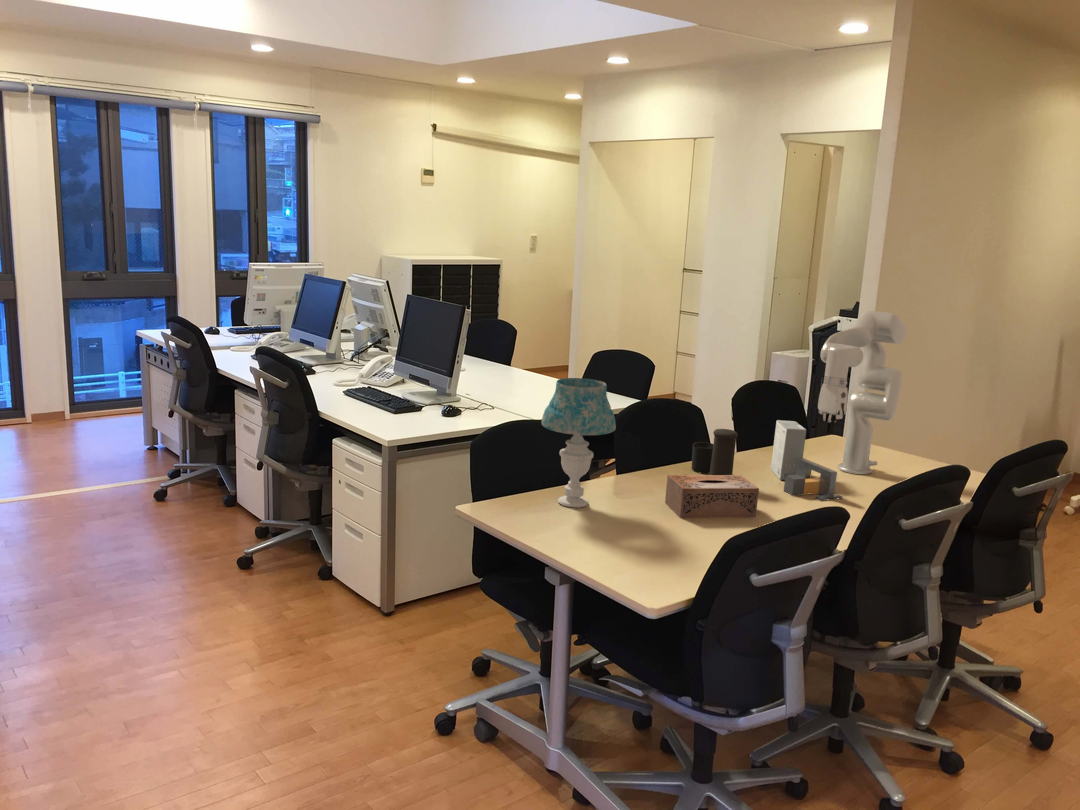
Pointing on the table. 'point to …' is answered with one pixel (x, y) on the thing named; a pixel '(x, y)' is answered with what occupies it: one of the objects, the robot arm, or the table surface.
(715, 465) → the container
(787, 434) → the hard drive box
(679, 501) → the tissue box cover
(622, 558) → the table surface
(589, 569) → the table surface
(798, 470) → the bracket
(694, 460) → the pen holder
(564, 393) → the table lamp
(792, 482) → the plug
